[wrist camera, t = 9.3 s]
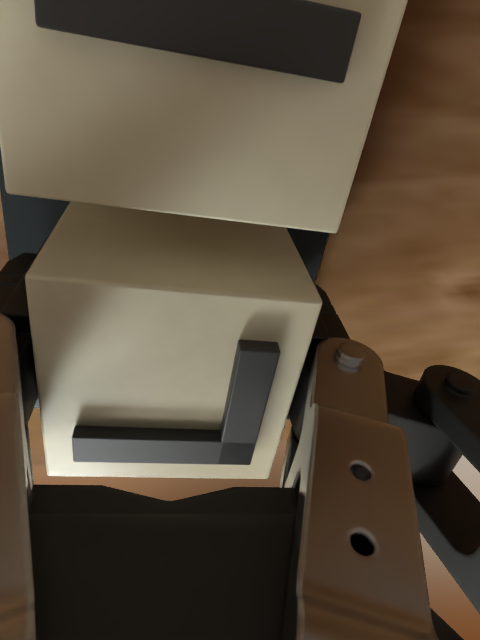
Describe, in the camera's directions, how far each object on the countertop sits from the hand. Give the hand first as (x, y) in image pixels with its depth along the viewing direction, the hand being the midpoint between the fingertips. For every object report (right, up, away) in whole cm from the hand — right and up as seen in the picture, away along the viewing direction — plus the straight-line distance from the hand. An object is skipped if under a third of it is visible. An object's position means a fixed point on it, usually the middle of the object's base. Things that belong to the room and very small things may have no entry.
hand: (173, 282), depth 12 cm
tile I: (+1, +5, -3) cm, 6 cm away
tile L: (0, 0, 0) cm, 0 cm away
